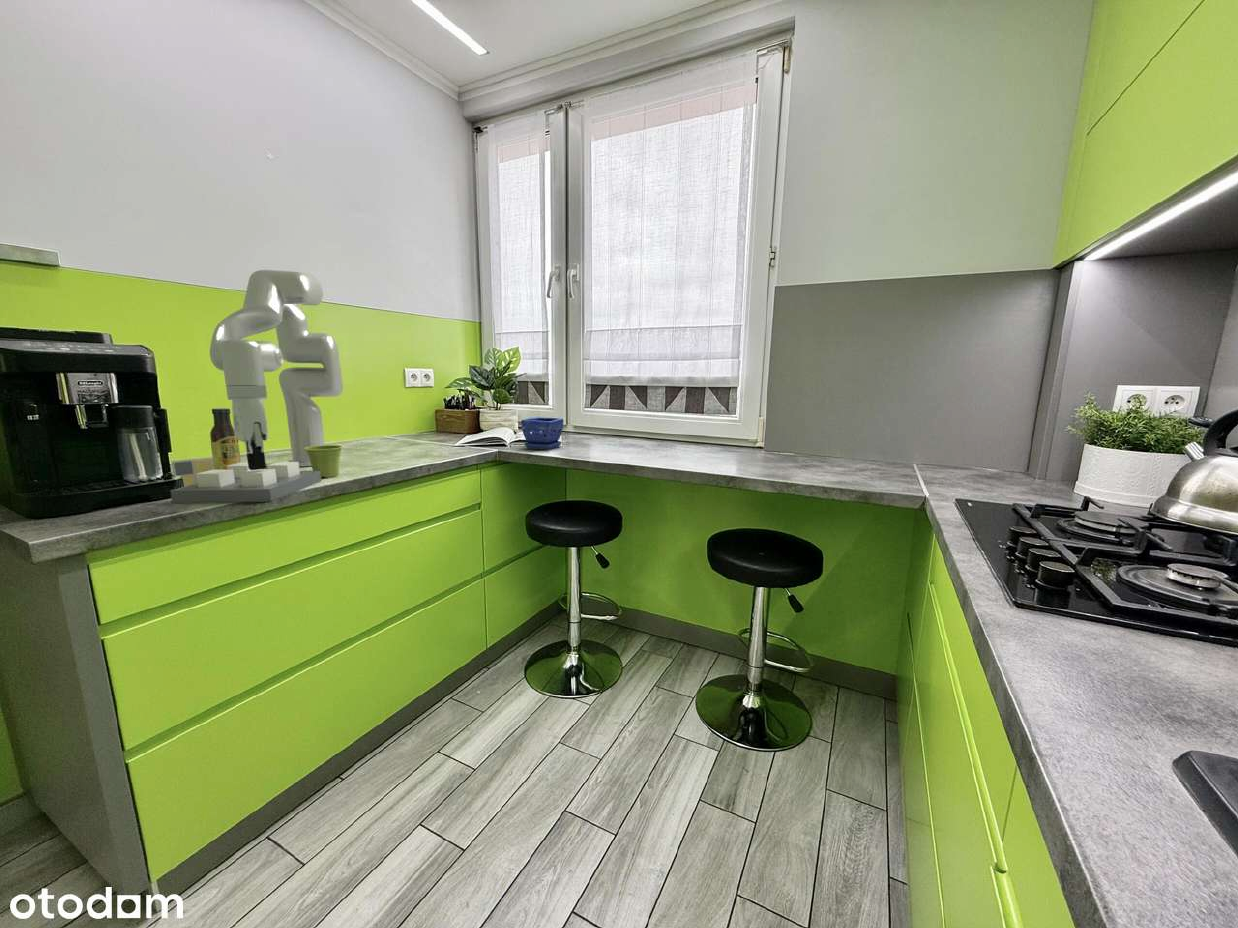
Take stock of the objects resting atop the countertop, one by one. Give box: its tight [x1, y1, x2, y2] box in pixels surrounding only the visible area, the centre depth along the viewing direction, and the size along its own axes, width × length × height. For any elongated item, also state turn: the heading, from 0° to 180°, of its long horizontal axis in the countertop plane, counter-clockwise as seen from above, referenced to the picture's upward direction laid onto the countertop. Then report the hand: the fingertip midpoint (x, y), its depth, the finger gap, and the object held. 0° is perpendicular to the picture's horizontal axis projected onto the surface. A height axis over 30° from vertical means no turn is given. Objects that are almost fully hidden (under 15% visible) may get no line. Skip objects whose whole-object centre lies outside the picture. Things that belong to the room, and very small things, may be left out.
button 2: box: [227, 461, 250, 478], centre depth 128 cm, size 5×5×4 cm
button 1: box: [196, 470, 235, 487], centre depth 118 cm, size 5×5×4 cm
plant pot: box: [305, 444, 343, 479], centre depth 141 cm, size 9×9×9 cm
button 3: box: [240, 468, 277, 487], centre depth 118 cm, size 5×5×4 cm
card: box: [170, 456, 214, 486], centre depth 125 cm, size 1×8×8 cm, turn 134°
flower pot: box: [520, 417, 564, 451], centre depth 196 cm, size 13×13×12 cm
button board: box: [169, 470, 322, 504], centre depth 123 cm, size 22×22×3 cm
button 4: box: [266, 461, 301, 478], centre depth 128 cm, size 5×5×4 cm
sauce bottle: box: [209, 407, 242, 470], centre depth 139 cm, size 6×6×20 cm
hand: (257, 468), depth 118 cm, fingers closed
